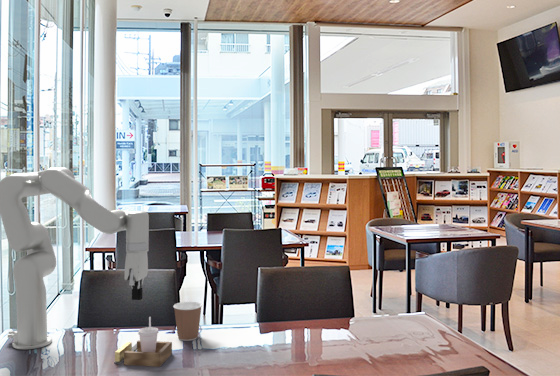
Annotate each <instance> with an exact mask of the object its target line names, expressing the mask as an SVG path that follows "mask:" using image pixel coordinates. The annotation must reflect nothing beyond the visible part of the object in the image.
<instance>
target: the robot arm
mask: <svg viewBox="0 0 560 376" xmlns="http://www.w3.org/2000/svg"><path fill="white" fill-rule="evenodd" d="M47 194H48V195H49V194H51V195H53V196H54V197H55V198H57V199H59V200H60V201H61V202H63V203H65V204H66V205H68V206H69V207H71V208H72V209H73V210H74V211H75V212H76V214H77V215H78V216H79V217H80V218H81V219H82V220H83V221H85V222H86V223H87V224H89V225H90V226H92V227H93V228H95V229H97V230H98V231H100V232H101V233H103V234H106V235H113V234H116V233H119V232H122V231H125V234H126V235H125V239H126V240H125V242H126V243H125V253H126V254H125V261H124V275H123V276H124V281H126V282H128V281H129V284H128V285H129V286H131V287H130V288H131V300H132V301H141V300H142V299H143V287H144V280H145V278H146V277H147V276H148V273H149V271H148V270H149V260H148V257H149V256H148V252H149V251H150V250H149V248H150V247H149V241H150V238H149V233H150V230H149V229H150V228H149V227H150V225H149V223H150V221H149V219H150V217H149V216H150V215H149V213H148V212H147V211H144V210H133V211H129V210H126V209H125V210H124V209H113V210H109V209H108V208H106V207H104V206H102V205H101V204H100V203H98V202H97V201H96V200H95V199H94V198H93V196H92V191H91V189H90V188H89V187H88V186H86V185H84V184H83V183H81V182H80V181H78V180H76V178H75V175H74V173H73V172H72V170H70V169H69V168H67V167H59V166H57V167H54V166H53V167H49V168H46V169H45V170H41V171H36V172H35V171H33V172H16V173H11V174H8V175H6V176H5V177H4V178H2V179H1V180H0V218H1V222H2V225H3V229H4V231H5V235H6V239H7V242H8V245H9V246H10V248H11V250H13V251H14V252H17V253H22V252H26V255H23V256H21V257H20V258H18V259H17V260H16V262H14V265H13V268H12V276H13V281H14V284H15V297H16V298H15V299H16V330H9V331H8V334H7V338H8V339H14V340H13V342H12V344H11V345H12V348H13V349H16V350H24V351H25V350H35V349H41V348H43V347H46V346H49V345H50V344H51V343H52V341H53V338H52V337H51V336H49V335H48V323H47V322H48V319H47V318H48V315H47V307H48V306H47V289H46V284H45V281H44V278H45V277H47V276H49V275H50V274H52V273H53V272H54V271H55V268H56V267H57V258H56V255H55V251H54V247H53V245H52V244H53V243H52V241H51V237H50V235H49V232H48V230H47V228H46V227H45V226H44V225H43V224H41V223H39V222H38V221H31V219H30V216H29V212H28V209H27V207H26V206H25V203H23V201H22V199H23V198H29V197H36V196H41V195H47Z"/></svg>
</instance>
